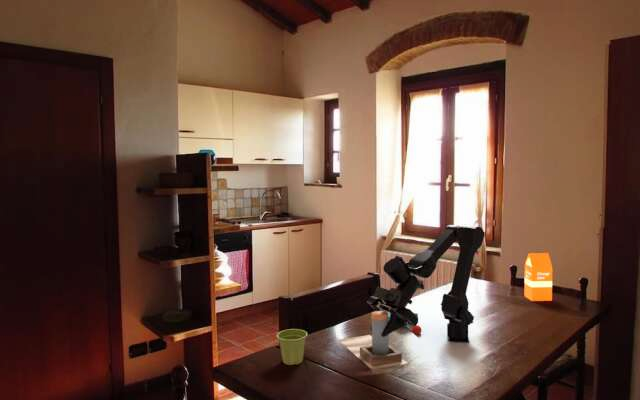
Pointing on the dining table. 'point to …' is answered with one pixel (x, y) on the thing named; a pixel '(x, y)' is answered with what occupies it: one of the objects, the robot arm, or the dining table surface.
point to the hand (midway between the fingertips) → (376, 333)
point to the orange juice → (538, 277)
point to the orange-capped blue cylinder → (379, 333)
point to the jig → (364, 352)
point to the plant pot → (292, 345)
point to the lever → (416, 329)
